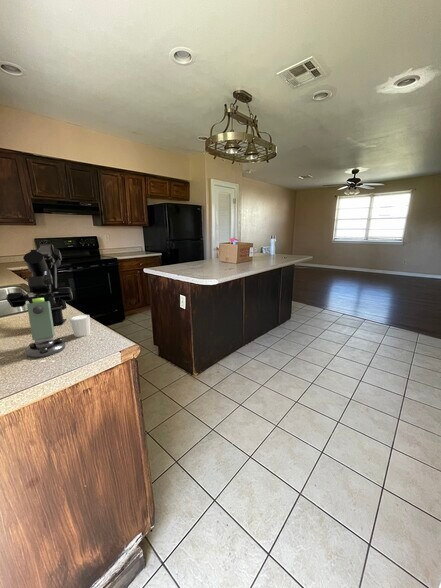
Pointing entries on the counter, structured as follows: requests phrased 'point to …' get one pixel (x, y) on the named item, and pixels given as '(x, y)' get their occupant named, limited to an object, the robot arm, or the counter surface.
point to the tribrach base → (45, 348)
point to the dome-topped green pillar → (41, 320)
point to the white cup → (80, 325)
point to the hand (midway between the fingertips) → (42, 317)
